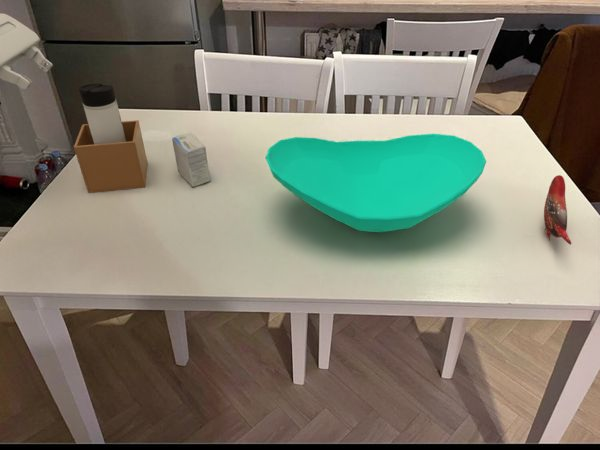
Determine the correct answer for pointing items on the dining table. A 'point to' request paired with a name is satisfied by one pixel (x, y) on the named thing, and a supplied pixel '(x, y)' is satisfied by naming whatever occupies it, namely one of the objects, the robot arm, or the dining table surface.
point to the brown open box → (112, 160)
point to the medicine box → (191, 159)
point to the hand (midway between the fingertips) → (39, 76)
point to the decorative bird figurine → (556, 210)
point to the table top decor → (377, 177)
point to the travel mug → (102, 113)
